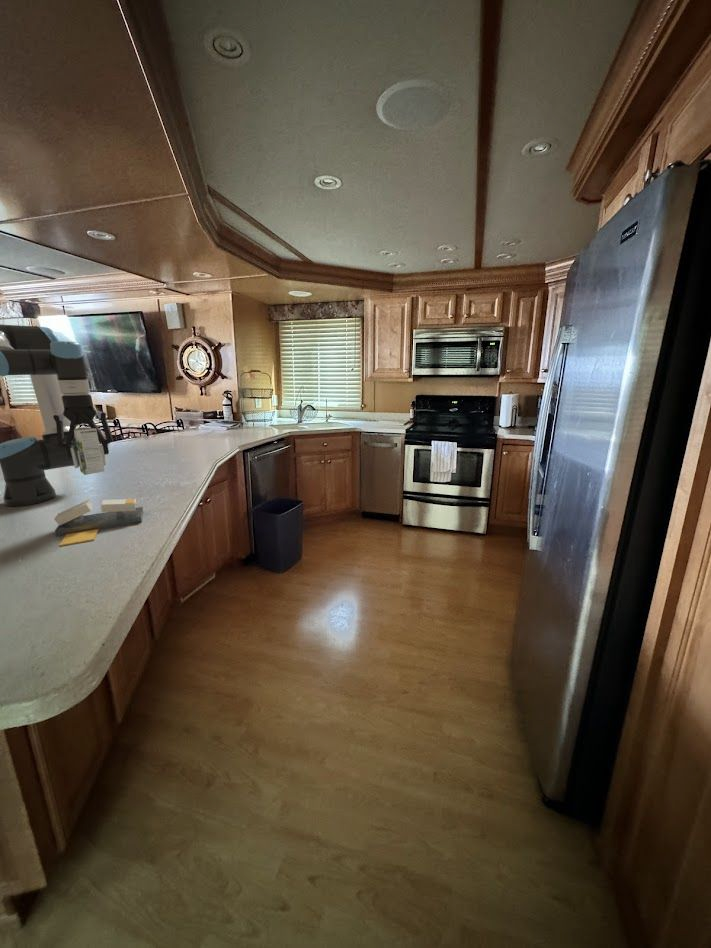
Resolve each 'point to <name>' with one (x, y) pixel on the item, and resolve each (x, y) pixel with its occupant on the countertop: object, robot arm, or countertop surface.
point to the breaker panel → (100, 521)
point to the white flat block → (73, 512)
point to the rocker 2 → (118, 505)
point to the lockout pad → (79, 537)
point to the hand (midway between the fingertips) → (91, 465)
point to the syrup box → (88, 450)
